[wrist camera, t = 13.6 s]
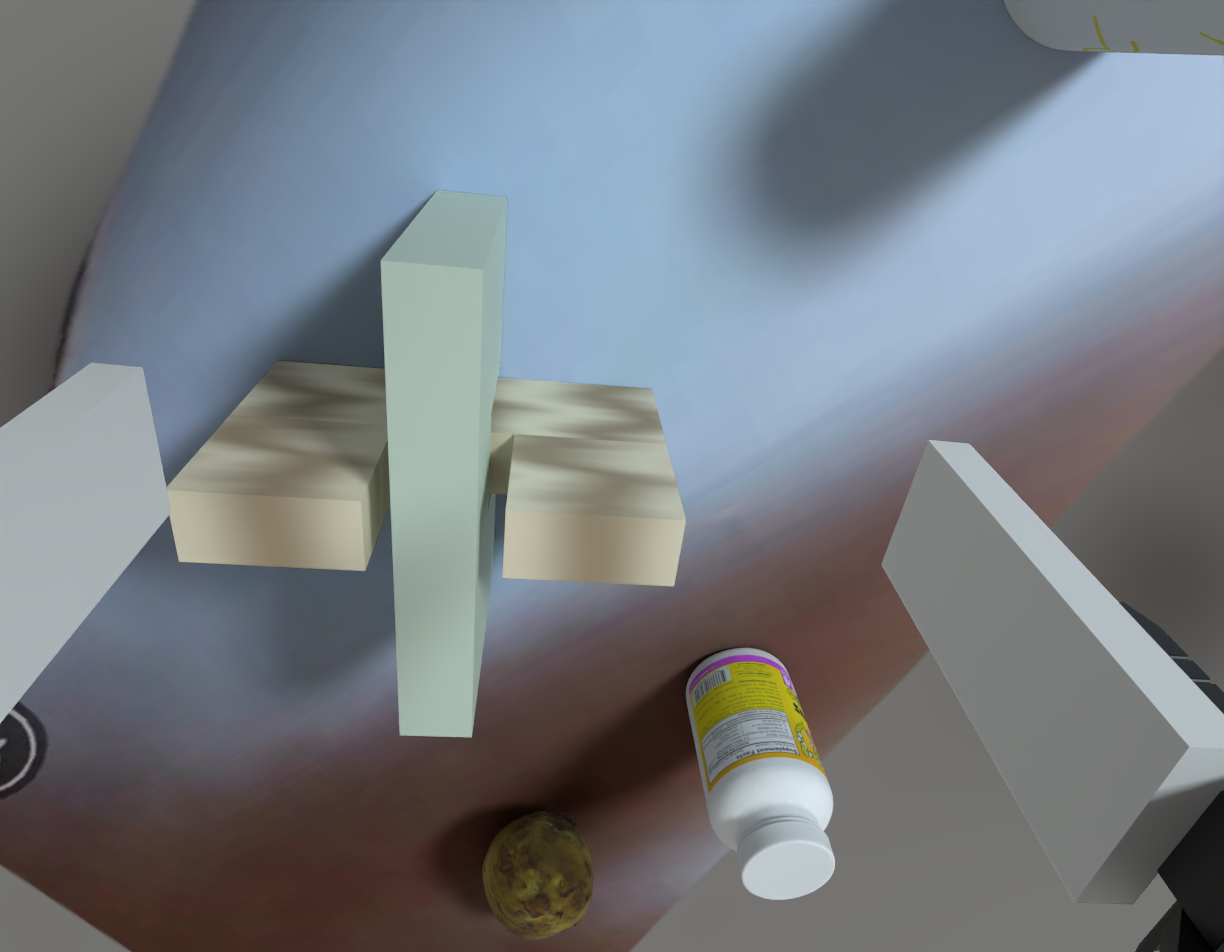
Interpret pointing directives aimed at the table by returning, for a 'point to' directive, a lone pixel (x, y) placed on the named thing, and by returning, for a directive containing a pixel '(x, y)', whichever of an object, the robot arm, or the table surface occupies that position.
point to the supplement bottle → (761, 772)
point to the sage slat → (442, 449)
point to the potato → (538, 875)
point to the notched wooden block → (360, 487)
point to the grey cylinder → (1123, 25)
